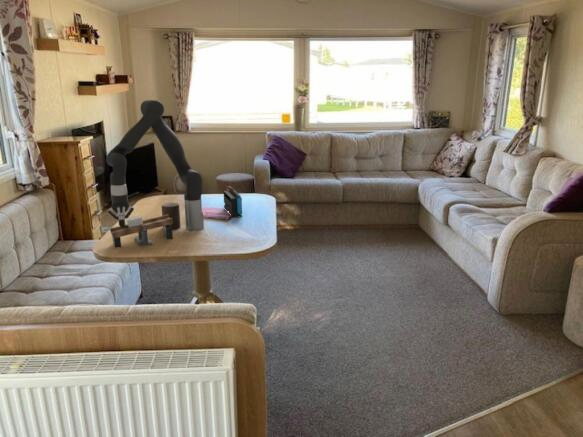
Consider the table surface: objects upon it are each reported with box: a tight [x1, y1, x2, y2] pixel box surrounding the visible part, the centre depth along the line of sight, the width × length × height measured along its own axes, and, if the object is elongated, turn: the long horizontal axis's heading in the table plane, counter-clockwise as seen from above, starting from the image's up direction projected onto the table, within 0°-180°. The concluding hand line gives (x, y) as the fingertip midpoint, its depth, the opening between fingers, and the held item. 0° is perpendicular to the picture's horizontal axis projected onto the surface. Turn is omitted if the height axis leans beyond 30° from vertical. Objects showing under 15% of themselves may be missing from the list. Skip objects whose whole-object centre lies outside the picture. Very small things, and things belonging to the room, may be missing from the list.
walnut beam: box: [109, 214, 173, 239], centre depth 241 cm, size 30×9×3 cm, turn 118°
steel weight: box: [125, 214, 143, 228], centre depth 239 cm, size 7×5×5 cm
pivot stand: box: [111, 224, 174, 249], centre depth 242 cm, size 29×14×10 cm, turn 118°
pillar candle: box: [161, 202, 181, 231], centre depth 263 cm, size 10×10×15 cm
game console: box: [223, 185, 243, 218], centre depth 293 cm, size 28×6×15 cm, turn 21°
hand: (122, 226), depth 236 cm, fingers closed
